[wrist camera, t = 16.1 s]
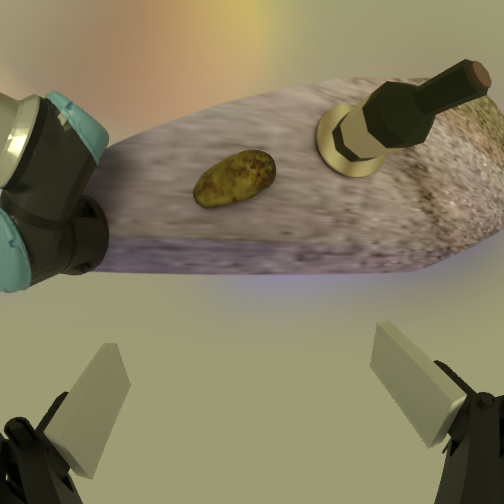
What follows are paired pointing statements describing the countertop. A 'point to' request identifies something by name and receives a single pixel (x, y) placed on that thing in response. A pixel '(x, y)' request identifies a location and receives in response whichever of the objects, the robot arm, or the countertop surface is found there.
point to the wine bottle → (406, 112)
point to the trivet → (334, 157)
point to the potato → (235, 179)
